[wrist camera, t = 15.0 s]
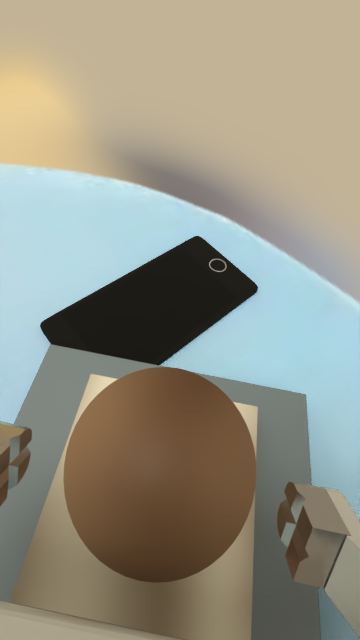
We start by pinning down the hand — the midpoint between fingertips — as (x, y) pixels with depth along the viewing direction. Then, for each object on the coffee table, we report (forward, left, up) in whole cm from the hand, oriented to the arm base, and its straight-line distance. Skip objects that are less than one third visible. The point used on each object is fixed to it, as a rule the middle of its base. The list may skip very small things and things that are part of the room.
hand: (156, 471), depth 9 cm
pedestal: (0, 0, -11) cm, 11 cm away
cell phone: (-3, +13, -12) cm, 18 cm away
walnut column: (0, 0, -6) cm, 6 cm away
